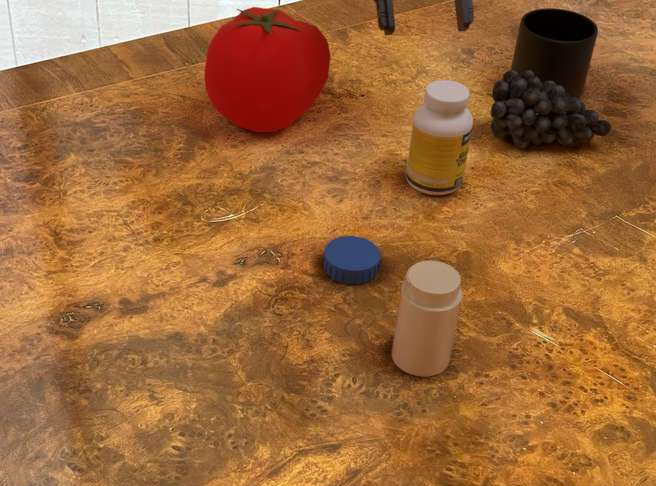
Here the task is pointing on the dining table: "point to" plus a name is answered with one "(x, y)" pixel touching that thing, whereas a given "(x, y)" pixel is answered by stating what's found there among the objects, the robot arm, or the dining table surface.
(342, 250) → the jar lid
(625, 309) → the dining table surface
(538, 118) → the fruit
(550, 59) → the black cylindrical cup
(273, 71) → the tomato
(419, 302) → the plain beige capped bottle
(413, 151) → the pill bottle
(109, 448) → the dining table surface
